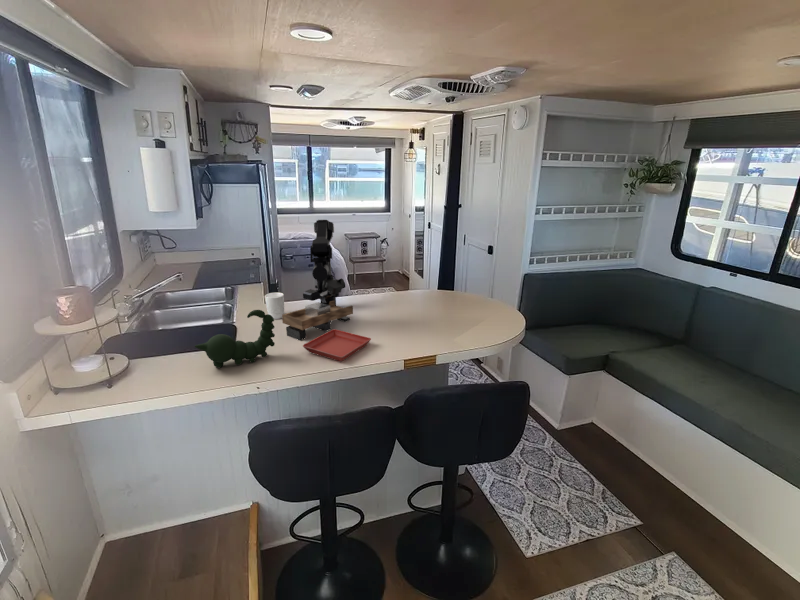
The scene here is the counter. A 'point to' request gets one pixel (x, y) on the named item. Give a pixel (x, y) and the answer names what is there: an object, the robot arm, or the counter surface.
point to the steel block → (316, 309)
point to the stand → (301, 334)
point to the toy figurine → (240, 344)
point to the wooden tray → (305, 322)
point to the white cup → (275, 304)
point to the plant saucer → (337, 344)
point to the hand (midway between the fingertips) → (327, 308)
